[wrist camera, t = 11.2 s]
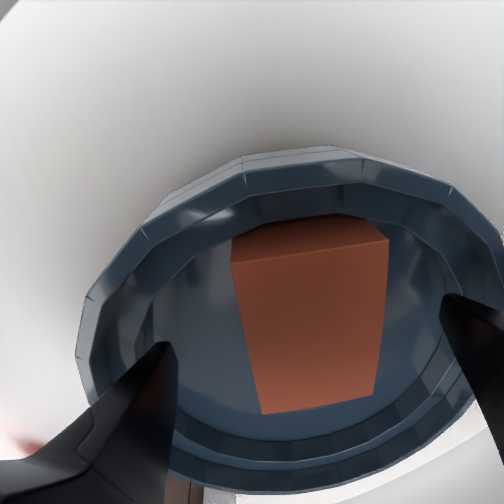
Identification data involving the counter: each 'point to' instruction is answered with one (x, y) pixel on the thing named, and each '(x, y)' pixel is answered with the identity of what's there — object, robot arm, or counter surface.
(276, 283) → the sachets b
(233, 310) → the bowl
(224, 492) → the holder
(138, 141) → the counter surface
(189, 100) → the counter surface
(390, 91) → the counter surface
